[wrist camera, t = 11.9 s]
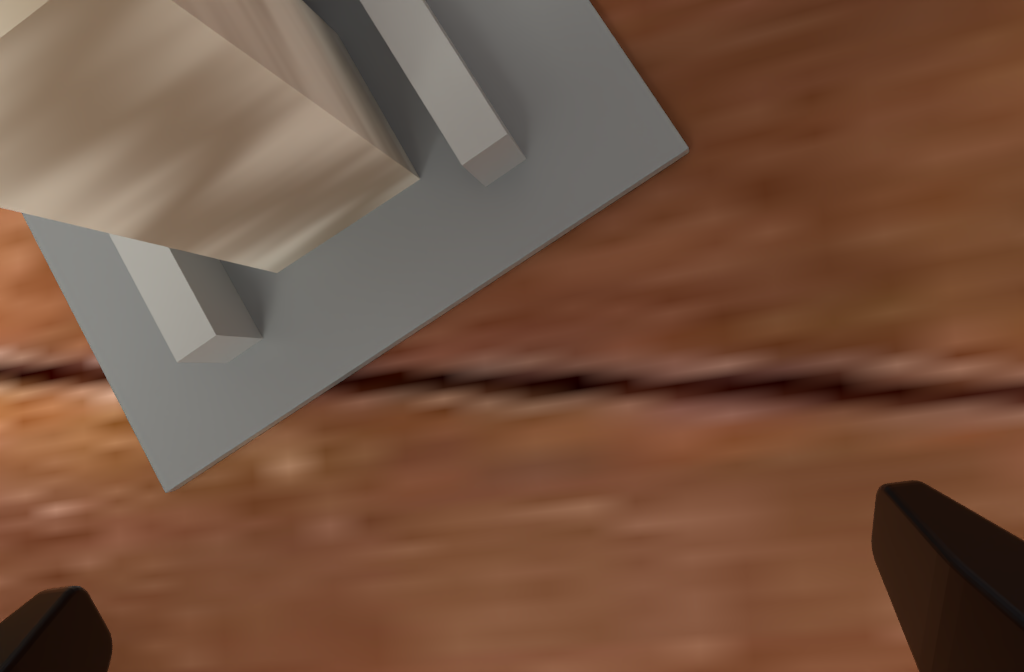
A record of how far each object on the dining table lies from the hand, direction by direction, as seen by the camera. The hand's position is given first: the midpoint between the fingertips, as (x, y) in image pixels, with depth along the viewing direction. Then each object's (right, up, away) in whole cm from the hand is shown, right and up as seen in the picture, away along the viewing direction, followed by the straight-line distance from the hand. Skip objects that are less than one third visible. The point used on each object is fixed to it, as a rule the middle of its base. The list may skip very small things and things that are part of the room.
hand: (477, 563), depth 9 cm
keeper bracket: (-5, +7, +12) cm, 15 cm away
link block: (-5, +7, +12) cm, 15 cm away
